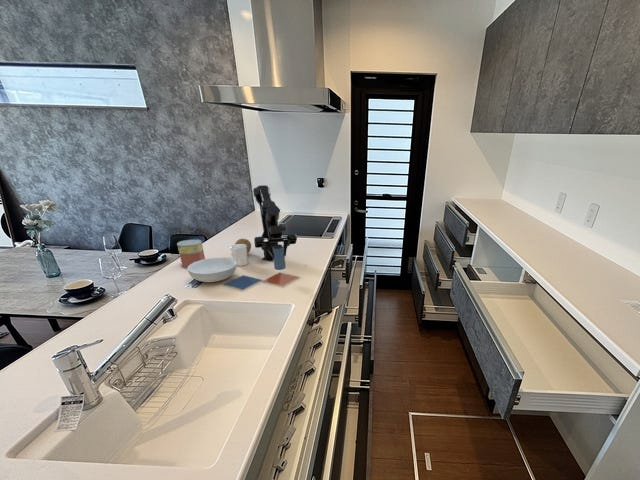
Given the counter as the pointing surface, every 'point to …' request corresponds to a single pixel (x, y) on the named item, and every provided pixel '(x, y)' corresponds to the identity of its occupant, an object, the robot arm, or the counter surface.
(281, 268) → the blue mill
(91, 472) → the counter surface
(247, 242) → the natural sponge
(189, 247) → the canned food
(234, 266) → the serving bowl
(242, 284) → the blue mat
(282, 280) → the terracotta trivet
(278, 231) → the robot arm
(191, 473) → the counter surface
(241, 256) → the white cup
